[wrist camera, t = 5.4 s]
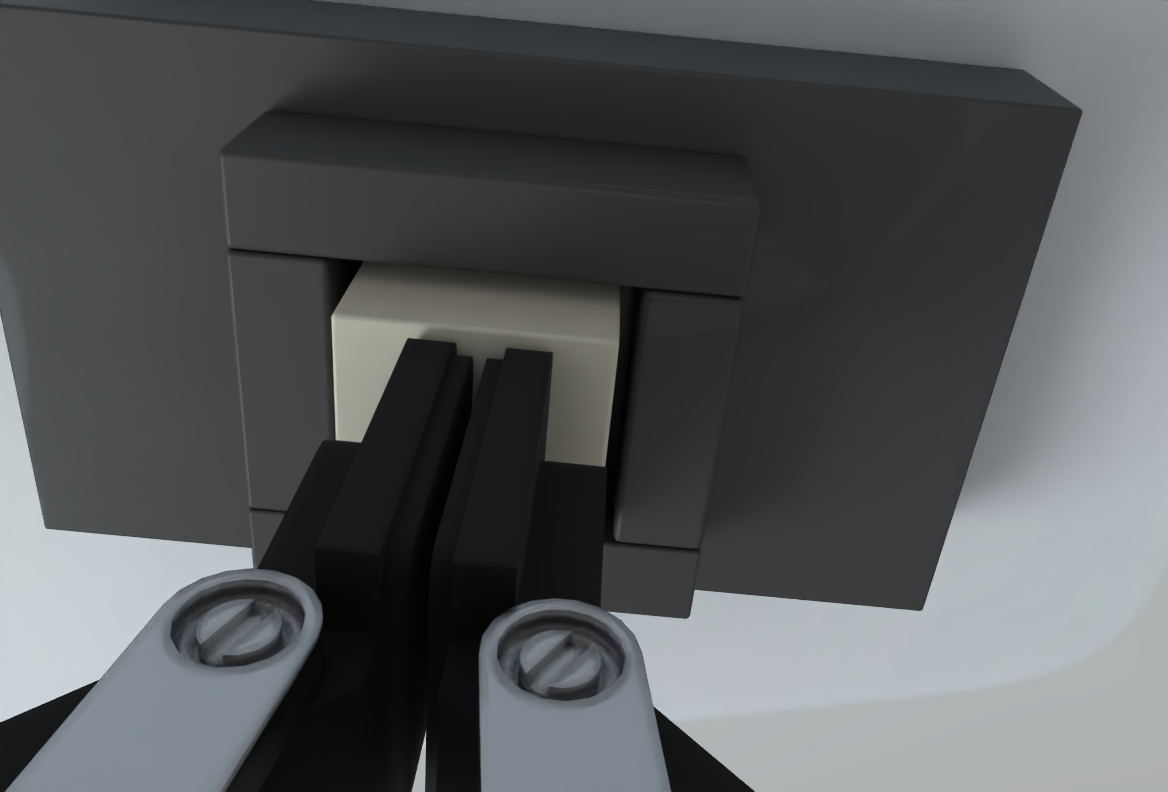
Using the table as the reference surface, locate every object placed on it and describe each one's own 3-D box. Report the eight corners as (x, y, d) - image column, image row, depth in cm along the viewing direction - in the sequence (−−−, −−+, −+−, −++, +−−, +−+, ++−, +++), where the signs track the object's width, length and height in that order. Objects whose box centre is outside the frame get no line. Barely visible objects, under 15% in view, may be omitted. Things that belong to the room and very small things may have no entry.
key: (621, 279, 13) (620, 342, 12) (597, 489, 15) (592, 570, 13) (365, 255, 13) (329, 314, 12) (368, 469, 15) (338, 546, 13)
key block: (1025, 70, 15) (1148, 152, 11) (892, 529, 19) (953, 696, 15) (24, -29, 15) (-168, 24, 11) (105, 454, 18) (-18, 606, 15)
